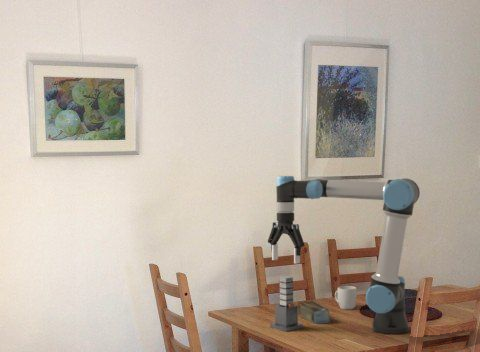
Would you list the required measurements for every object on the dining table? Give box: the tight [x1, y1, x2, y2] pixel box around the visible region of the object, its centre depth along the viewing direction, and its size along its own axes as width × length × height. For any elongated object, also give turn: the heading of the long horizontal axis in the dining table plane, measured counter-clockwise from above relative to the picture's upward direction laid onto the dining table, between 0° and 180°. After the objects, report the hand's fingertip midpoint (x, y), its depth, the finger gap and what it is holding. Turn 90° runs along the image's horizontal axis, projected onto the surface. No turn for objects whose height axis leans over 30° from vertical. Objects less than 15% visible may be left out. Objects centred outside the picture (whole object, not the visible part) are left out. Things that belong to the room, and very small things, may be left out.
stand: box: [269, 302, 304, 332], centre depth 308 cm, size 10×10×11 cm
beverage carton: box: [297, 300, 331, 325], centre depth 324 cm, size 8×19×7 cm, turn 17°
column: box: [278, 275, 294, 307], centre depth 307 cm, size 4×4×20 cm
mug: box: [334, 285, 358, 310], centre depth 346 cm, size 13×9×10 cm
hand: (285, 261), depth 307 cm, fingers open, 13 cm apart
